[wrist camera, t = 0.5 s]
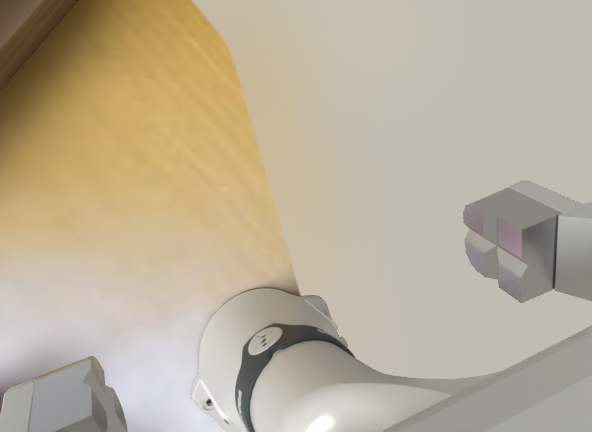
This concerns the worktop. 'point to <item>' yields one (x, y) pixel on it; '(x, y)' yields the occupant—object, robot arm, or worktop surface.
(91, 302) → the worktop surface
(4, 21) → the domino stand
